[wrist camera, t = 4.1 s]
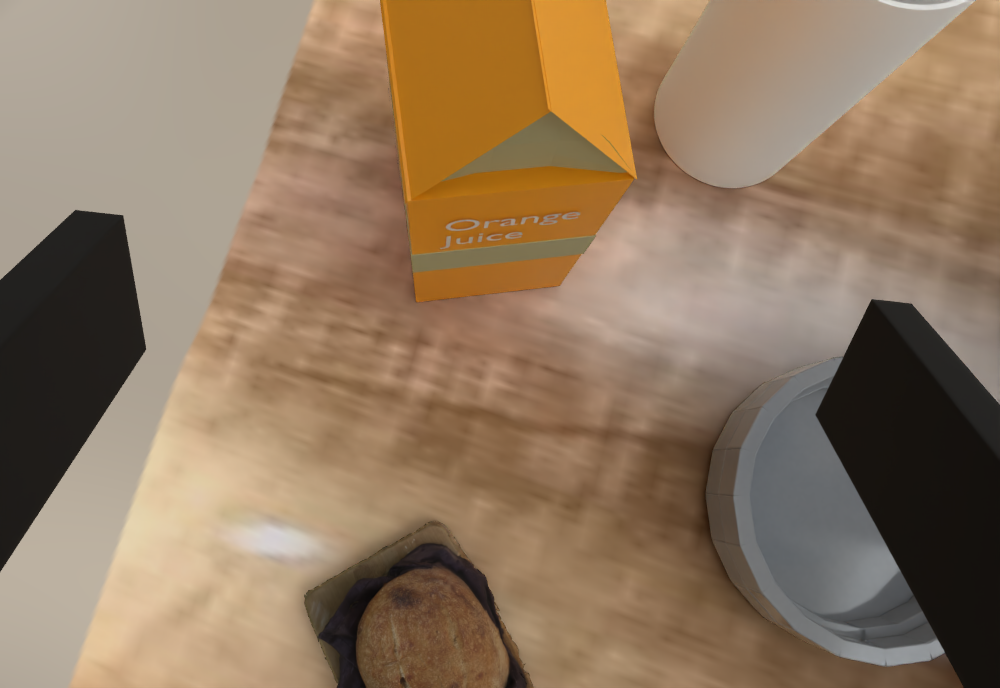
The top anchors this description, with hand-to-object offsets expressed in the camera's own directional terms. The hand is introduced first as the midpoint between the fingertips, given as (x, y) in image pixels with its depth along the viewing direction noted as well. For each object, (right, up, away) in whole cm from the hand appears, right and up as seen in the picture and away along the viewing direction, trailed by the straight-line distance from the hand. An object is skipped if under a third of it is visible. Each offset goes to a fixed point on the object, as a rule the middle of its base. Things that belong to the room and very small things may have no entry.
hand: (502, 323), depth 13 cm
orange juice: (-1, +6, +26) cm, 27 cm away
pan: (+17, -8, +25) cm, 31 cm away
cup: (+13, +12, +28) cm, 33 cm away
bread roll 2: (-4, -15, +22) cm, 27 cm away
